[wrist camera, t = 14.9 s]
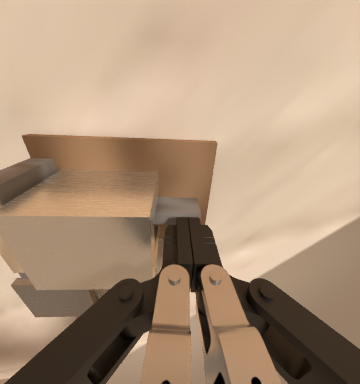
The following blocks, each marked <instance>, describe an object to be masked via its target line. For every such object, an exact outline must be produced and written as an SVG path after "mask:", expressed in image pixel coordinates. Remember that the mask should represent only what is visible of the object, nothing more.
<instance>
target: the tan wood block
mask: <svg viewBox="0 0 360 384" xmlns="http://www.w3.org/2000/svg"><path fill="white" fill-rule="evenodd" d="M158 194H159V172H149V171H111V170H73V169H62V170H60V171H58V172H57V173H55V174H53V175H52V176H50V177H49V178H47V179H45V180H44V181H42V182H41V183H39V184H37V185H36V186H34V187H32V188H31V189H29V190H28V191H26V192H24V193H23V194H21V195H19V196H18V197H16V198H15V199H13V200H11V201H10V202H8V203H6V204H5V205H3V206H2V207H0V236H1V237H2V239H3V240H4V242H5V243H6V245H7V246H8V248H9V249H10V251H11V253H12V254H13V256H14V257H15V259H16V260H17V262H18V263H19V265H20V266H21V268H22V269H23V271H24V272H25V274H26V275H27V277H28V278H29V280H30V281H31V283H32V284H33V286H34V287H35V289H36V290H92V289H111V288H112V287H113V286H114V285H115V284H117V283H118V282H120V281H121V280H124V279H128V278H132V279H136V280H137V281H139V282H140V283H141V282H144V281H147V280H150V279H152V278H154V277H155V271H156V261H157V251H158V242H159V232H160V224H154V220H155V213H156V207H157V200H158Z"/></svg>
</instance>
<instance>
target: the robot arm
mask: <svg viewBox="0 0 360 384" xmlns="http://www.w3.org/2000/svg"><path fill="white" fill-rule="evenodd" d="M190 289H191V292H195V293H196V313H197V319H198V325H199V330H200V336H201V342H202V348H203V353H204V370H205V379H206V384H282V383H281V381H280V379H279V376H278V374H277V372H278V373H279V374H280V375H281V376H282V377H283V378H284V379H285V380H286V381H287V383H288V384H360V349H359V348H357V347H356V346H355V345H353V344H352V343H351V342H349V341H348V340H347V339H345V338H344V337H343V336H341V335H340V334H339V333H337V332H336V331H335V330H334V329H332V328H331V327H329V326H328V325H327V324H326V323H324V322H323V321H322V320H320V319H319V318H317V317H316V316H315V315H314V314H312V313H311V312H310V311H308V310H307V309H306V308H304V307H303V306H302V305H300V304H299V303H298V302H296V301H295V300H294V299H292V298H291V297H290V296H289V295H287V294H286V293H285V292H283V291H282V290H281V289H279V288H278V287H276V286H275V285H274V284H273V283H271V282H270V281H268V280H265V279H261V278H257V279H254V280H252V281H251V283H248V282H245V281H242V280H239V279H236V278H234V277H232V276H230V275H229V274H228V272H227V271H226V270H225V269H224V268H223V266H222V263H221V260H220V257H219V253H218V250H217V246H216V244H215V240H214V236H213V233H212V230H211V229H210V228H209V227H208V226H207V225H201V223H200V218H199V217H177V218H176V225H168V226H167V228H166V229H165V236H164V251H163V265H162V269H161V271H160V272H159V274H158V275H157V276H155V277H154V278H152V279H150V280H147V281H144V282H141V283H140V282H139V281H137V280H136V279H132V278H128V279H124V280H121V281H120V282H118V283H117V284H115V285H114V286H113V287H112V288H111V289H110V290H109V291H108V292H107V293H105V294H104V295H103V296H102V297H101V298H100V299H99V300H98V301H96V302H95V303H94V304H93V305H92V306H91V307H90V308H89V309H87V310H86V311H85V312H84V313H83V314H82V315H81V316H80V317H78V318H77V319H76V320H75V321H74V322H73V323H72V324H71V325H69V326H68V327H67V328H66V329H65V330H64V331H63V332H62V333H61V334H59V335H58V336H57V337H56V338H55V339H54V340H53V341H52V342H50V343H49V344H48V345H47V346H46V347H45V348H44V349H43V350H41V351H40V352H39V353H38V354H37V355H36V356H35V357H34V358H32V359H31V360H30V361H29V362H28V363H27V364H26V365H25V366H23V367H22V368H21V369H20V370H19V371H18V372H17V373H16V374H15V375H13V376H12V377H11V378H10V379H9V380H8V381H7V382H6V383H4V384H106V383H107V381H108V380H109V379H110V377H111V376H112V375H113V373H114V372H115V371H116V369H117V368H118V367H119V365H120V364H121V363H122V361H123V360H124V359H125V357H126V356H127V355H128V353H129V352H130V351H131V349H132V348H133V347H134V345H135V344H136V343H137V341H138V340H139V339H140V338H141V336H142V335H143V333H145V332H147V331H149V334H148V339H147V345H146V351H145V357H144V363H143V369H142V375H141V381H140V384H192V358H191V357H192V356H191V331H190V298H189V292H190ZM276 371H277V372H276Z"/></svg>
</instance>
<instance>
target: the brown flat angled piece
mask: <svg viewBox="0 0 360 384" xmlns="http://www.w3.org/2000/svg"><path fill="white" fill-rule="evenodd" d="M11 286H12V288H13V289H14V290H15V291H16V293H17V294H18V295H19V297H20V298H21V299H22V300H23V302H24V303H25V304H26V306H27V307H28V308H29V309H30V311H31V312H32V313H33V315H34V316H35V317H66V316H81V315H82V314H83V313H84V312H85V311H86V310H87V309H89V308H90V307H91V306H92V305H93V304H94V303H95V302H96V301H98V300H97V298H96V295H95V292H94V290H93V289H92V290H36V289H35V287H34V286H33V284H32V283H31V281H30V280H29V279H22V278H17V279H16V280H15V281H14V282H13V283H12V284H11Z"/></svg>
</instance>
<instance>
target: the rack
mask: <svg viewBox="0 0 360 384" xmlns="http://www.w3.org/2000/svg"><path fill="white" fill-rule="evenodd" d="M22 138H23V140H24V143H25V145H26V147H27V150H28V152H29V155H30V157H31V158H30V159H27V160H25V161H22V162H20V163H17V164H15V165H12V166H10V167H7V168H5V169H2V170H0V207H2V206H3V205H5V204H6V203H8V202H10V201H11V200H13V199H15V198H16V197H18V196H19V195H21V194H23V193H24V192H26V191H28V190H29V189H31V188H32V187H34V186H36V185H37V184H39V183H41V182H42V181H44V180H45V179H47V178H49V177H50V176H52V175H53V174H55V173H57V172H58V171H60V170H62V169H73V170H111V171H149V172H159V194H158V200H157V207H156V213H155V220H154V224H160V232H159V238H164V236H165V229H166V228H167V226H168V225H176V218H177V217H199V218H200V223H201V225H205V221H206V214H207V208H208V201H209V195H210V188H211V181H212V175H213V168H214V162H215V155H216V149H217V142H216V141H199V140H172V139H145V138H119V137H92V136H66V135H39V134H27V135H23V136H22ZM0 254H1V256H2V257H3V259H4V260H5V261H6V263H7V264H8V266H9V267H10V268H11V270H12V271H13V273H19V275H20V276H21V277H22V279H29V278H28V277H27V275H26V274H25V272H24V271H23V269H22V268H21V266H20V265H19V263H18V262H17V260H16V259H15V257H14V256H13V254H12V253H11V251H10V249H9V248H8V246H7V245H6V243H5V242H4V240H3V239H2V237H1V236H0Z"/></svg>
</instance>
